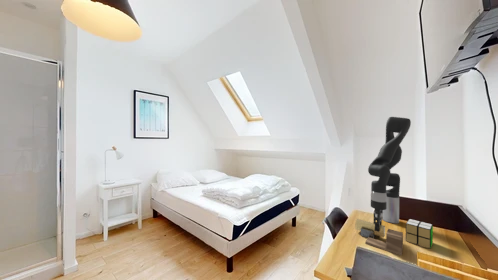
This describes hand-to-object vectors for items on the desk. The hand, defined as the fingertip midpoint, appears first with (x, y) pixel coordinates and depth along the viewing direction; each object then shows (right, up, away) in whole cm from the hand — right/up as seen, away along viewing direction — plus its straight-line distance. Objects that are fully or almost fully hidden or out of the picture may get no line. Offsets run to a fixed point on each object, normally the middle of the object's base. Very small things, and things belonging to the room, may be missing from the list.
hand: (378, 229), depth 107 cm
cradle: (-4, -5, +3) cm, 7 cm away
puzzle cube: (+20, -6, -4) cm, 21 cm away
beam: (-4, -5, -9) cm, 11 cm away
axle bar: (-3, -3, +3) cm, 5 cm away
